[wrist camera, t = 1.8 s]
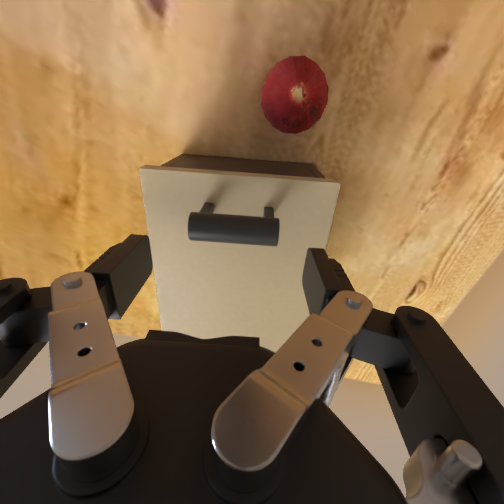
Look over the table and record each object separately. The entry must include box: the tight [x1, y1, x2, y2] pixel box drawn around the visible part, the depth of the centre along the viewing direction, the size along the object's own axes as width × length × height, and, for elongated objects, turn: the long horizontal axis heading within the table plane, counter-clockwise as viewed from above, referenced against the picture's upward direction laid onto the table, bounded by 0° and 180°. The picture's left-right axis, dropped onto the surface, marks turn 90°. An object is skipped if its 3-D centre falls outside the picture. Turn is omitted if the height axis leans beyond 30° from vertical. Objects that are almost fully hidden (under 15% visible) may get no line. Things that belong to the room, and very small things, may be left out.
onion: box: [261, 56, 328, 134], centre depth 22 cm, size 6×6×8 cm
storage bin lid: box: [139, 165, 341, 353], centre depth 21 cm, size 19×15×6 cm
